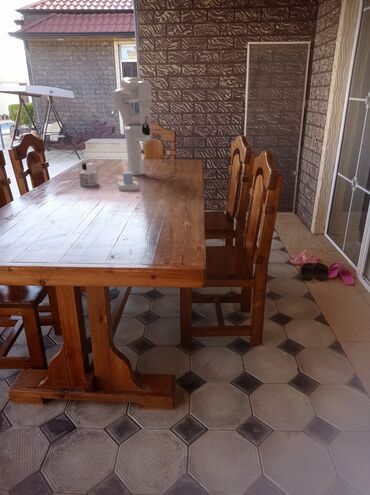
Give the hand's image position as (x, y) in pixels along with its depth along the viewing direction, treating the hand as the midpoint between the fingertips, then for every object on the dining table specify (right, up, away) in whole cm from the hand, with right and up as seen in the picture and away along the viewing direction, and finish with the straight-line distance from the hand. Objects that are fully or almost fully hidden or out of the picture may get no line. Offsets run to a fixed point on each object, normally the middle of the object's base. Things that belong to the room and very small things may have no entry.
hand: (146, 134), depth 225 cm
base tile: (-9, -34, -9) cm, 36 cm away
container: (-34, -31, 0) cm, 46 cm away
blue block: (-9, -31, -10) cm, 34 cm away
